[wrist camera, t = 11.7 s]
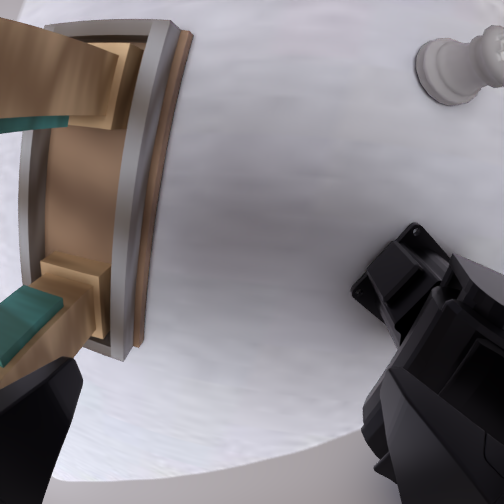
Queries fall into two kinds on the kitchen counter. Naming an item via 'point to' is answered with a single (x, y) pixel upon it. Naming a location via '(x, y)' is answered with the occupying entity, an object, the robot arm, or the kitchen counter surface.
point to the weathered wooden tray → (92, 148)
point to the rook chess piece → (461, 66)
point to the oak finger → (53, 314)
